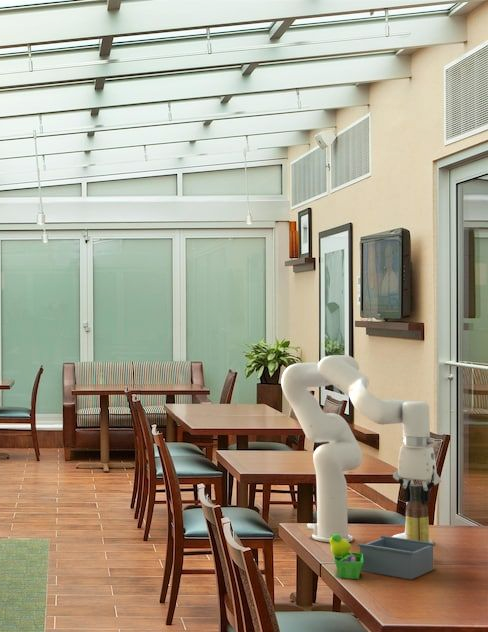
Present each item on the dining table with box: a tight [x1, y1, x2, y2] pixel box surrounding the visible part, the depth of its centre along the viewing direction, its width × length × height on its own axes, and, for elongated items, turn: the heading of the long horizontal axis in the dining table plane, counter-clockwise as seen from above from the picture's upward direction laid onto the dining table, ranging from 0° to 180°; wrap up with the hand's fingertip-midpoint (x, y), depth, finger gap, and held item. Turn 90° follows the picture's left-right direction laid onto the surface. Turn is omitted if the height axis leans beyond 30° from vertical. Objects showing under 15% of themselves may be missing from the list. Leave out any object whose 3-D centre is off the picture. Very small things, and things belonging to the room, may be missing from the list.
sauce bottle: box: [405, 483, 430, 542], centre depth 290 cm, size 7×6×20 cm
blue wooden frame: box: [357, 534, 436, 580], centre depth 275 cm, size 15×16×8 cm
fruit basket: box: [329, 534, 363, 580], centre depth 270 cm, size 11×9×11 cm
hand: (417, 501), depth 291 cm, fingers closed on sauce bottle, 4 cm apart
